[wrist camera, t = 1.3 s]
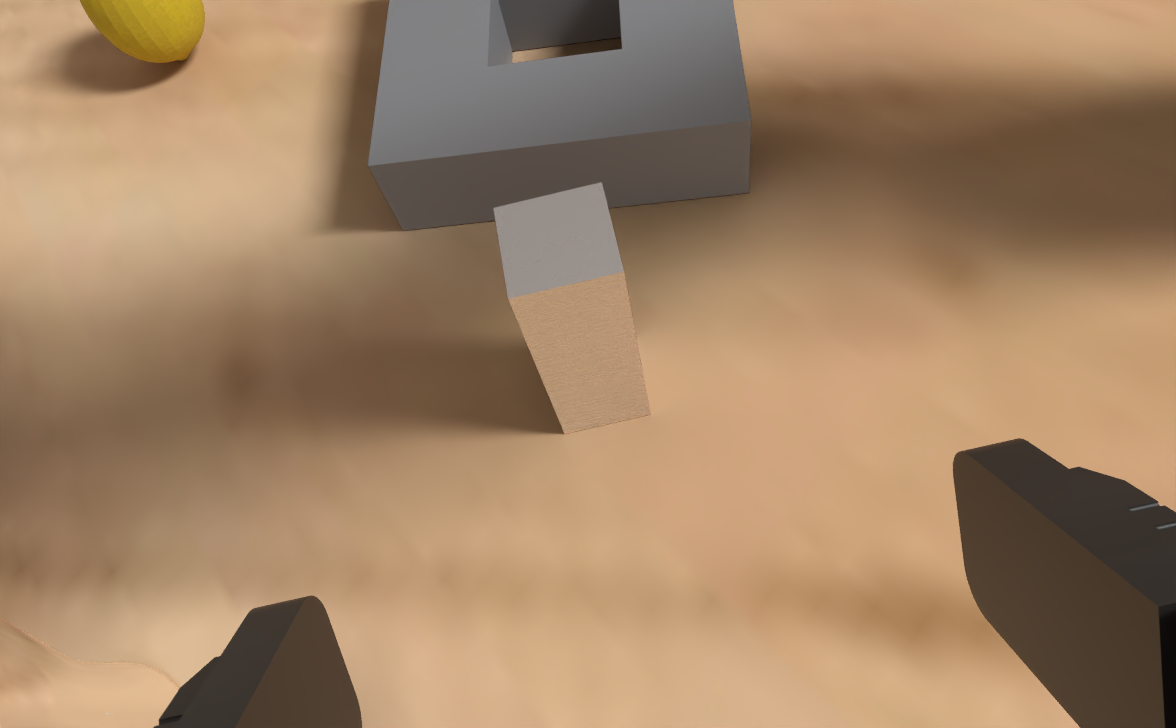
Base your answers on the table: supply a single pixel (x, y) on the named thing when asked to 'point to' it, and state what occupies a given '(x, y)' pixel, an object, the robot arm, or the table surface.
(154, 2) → the lemon
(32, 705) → the beer glass
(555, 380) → the steel bar
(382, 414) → the table surface
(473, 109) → the well block
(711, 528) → the table surface
